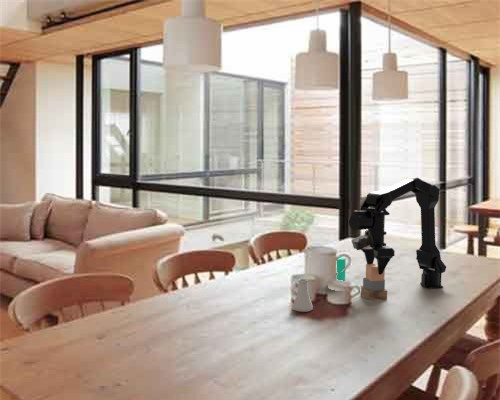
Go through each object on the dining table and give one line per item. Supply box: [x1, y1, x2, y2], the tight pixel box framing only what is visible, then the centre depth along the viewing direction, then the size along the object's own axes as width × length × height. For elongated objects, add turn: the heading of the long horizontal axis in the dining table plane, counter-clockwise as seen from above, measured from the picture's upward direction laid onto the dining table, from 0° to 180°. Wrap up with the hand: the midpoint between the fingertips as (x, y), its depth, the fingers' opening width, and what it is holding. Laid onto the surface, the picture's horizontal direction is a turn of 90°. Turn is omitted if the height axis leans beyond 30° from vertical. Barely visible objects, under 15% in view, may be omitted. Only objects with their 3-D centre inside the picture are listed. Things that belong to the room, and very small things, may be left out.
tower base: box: [360, 285, 388, 301], centre depth 196 cm, size 7×7×4 cm
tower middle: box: [362, 276, 386, 291], centre depth 195 cm, size 6×6×4 cm
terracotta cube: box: [365, 263, 386, 281], centre depth 195 cm, size 5×5×5 cm
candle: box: [337, 256, 347, 282], centre depth 212 cm, size 6×6×12 cm
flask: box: [291, 278, 314, 313], centre depth 181 cm, size 7×7×10 cm
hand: (374, 271), depth 194 cm, fingers open, 9 cm apart
